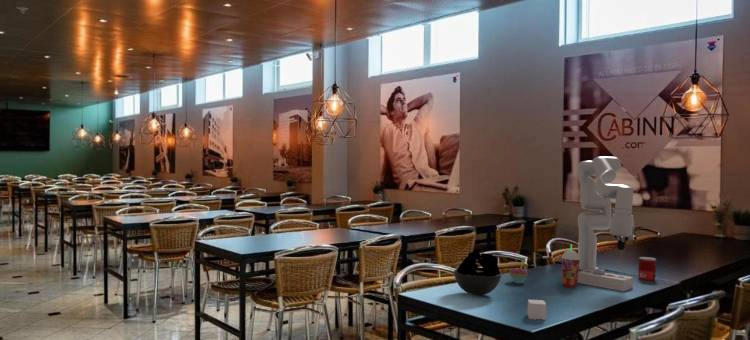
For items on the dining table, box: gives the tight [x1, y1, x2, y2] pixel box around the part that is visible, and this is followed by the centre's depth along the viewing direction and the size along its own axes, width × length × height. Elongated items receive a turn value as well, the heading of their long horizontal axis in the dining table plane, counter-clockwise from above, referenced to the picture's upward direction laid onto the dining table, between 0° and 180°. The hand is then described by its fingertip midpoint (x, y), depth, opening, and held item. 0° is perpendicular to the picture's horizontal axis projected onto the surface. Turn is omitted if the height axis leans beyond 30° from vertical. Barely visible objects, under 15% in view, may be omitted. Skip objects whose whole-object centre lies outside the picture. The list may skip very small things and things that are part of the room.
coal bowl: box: [453, 249, 502, 297], centre depth 254 cm, size 20×20×19 cm
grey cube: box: [526, 299, 547, 321], centre depth 222 cm, size 6×6×6 cm
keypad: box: [577, 270, 634, 292], centre depth 284 cm, size 23×11×5 cm, turn 46°
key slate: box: [593, 268, 606, 275], centre depth 286 cm, size 4×4×4 cm
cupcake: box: [509, 258, 528, 284], centre depth 283 cm, size 9×8×12 cm
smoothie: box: [561, 244, 580, 289], centre depth 279 cm, size 8×8×20 cm
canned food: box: [637, 256, 657, 282], centre depth 302 cm, size 8×8×11 cm
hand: (621, 249), depth 283 cm, fingers closed
